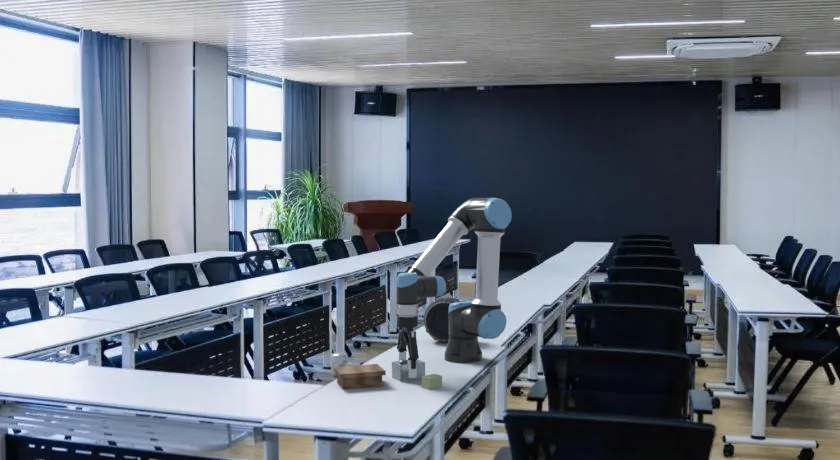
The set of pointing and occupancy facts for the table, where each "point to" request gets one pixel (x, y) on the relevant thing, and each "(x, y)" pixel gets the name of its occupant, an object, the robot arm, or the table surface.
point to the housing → (406, 370)
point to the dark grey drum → (438, 318)
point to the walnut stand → (359, 376)
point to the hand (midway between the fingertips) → (407, 373)
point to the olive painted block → (431, 381)
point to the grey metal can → (338, 361)
